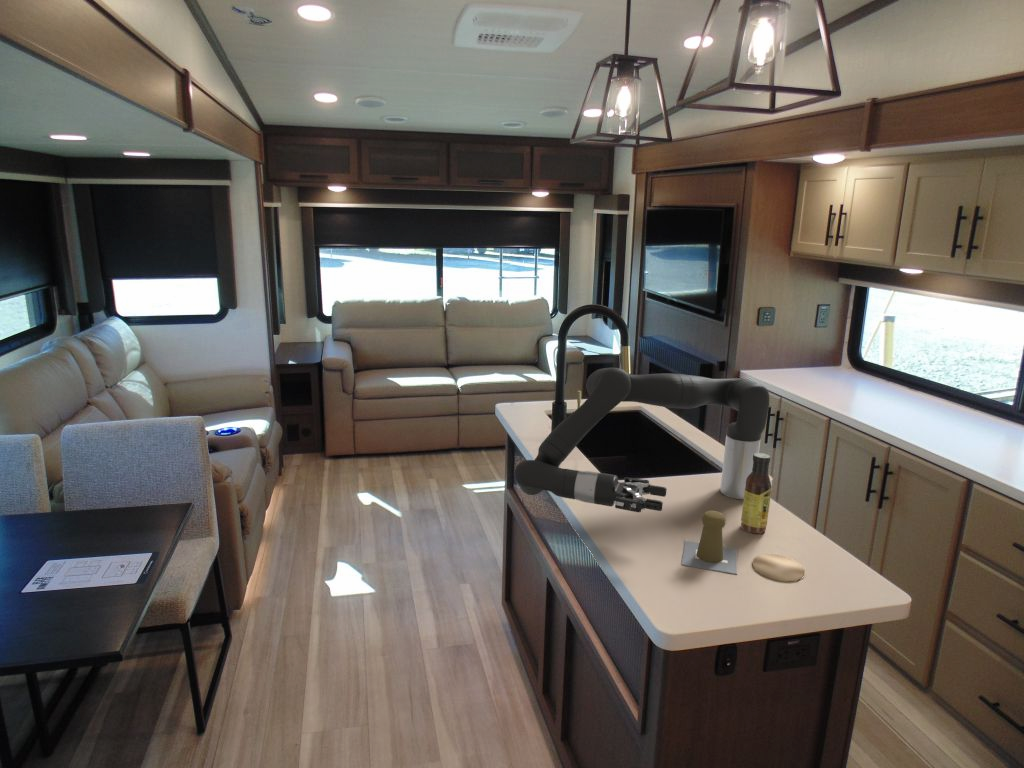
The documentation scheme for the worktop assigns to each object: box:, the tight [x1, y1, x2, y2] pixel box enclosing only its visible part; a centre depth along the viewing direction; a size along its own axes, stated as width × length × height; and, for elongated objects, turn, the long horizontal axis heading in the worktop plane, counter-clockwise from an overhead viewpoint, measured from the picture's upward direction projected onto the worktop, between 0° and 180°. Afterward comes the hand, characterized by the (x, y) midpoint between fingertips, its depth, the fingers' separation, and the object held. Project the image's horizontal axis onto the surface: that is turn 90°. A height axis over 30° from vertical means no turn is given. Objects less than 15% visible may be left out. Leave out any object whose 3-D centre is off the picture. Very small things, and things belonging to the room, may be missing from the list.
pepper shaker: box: [697, 510, 726, 563], centre depth 155 cm, size 6×6×11 cm
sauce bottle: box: [740, 452, 773, 534], centre depth 169 cm, size 6×6×20 cm
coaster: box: [752, 553, 805, 583], centre depth 152 cm, size 11×11×1 cm
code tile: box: [681, 540, 738, 575], centre depth 157 cm, size 12×12×1 cm
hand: (664, 499), depth 157 cm, fingers open, 8 cm apart
